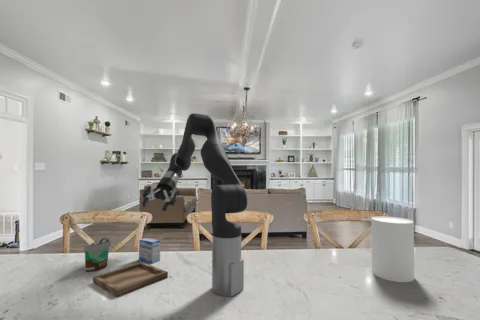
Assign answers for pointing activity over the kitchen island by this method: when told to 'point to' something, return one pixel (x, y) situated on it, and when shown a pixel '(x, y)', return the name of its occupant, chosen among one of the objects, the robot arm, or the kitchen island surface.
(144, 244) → the medicine box
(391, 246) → the canister
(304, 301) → the kitchen island surface
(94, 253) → the food container
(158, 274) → the walnut tray
